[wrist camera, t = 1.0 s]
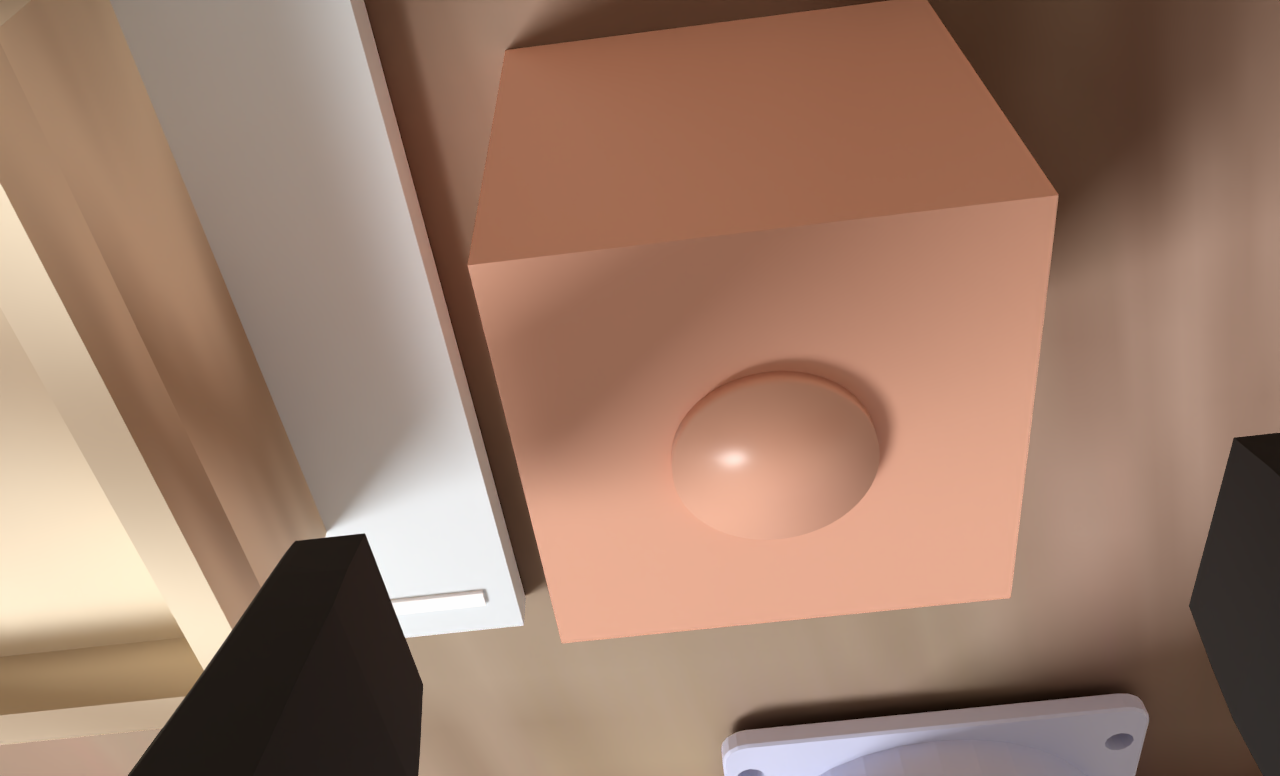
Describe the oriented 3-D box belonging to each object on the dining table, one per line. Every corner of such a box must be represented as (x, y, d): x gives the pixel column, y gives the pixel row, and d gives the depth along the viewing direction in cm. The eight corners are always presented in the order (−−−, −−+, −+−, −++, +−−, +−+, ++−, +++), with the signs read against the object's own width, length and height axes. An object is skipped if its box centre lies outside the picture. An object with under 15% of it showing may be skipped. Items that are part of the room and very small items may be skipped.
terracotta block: (911, 337, 16) (1015, 611, 12) (571, 375, 17) (560, 657, 13) (923, -7, 13) (1066, 207, 9) (506, 47, 14) (465, 277, 10)
